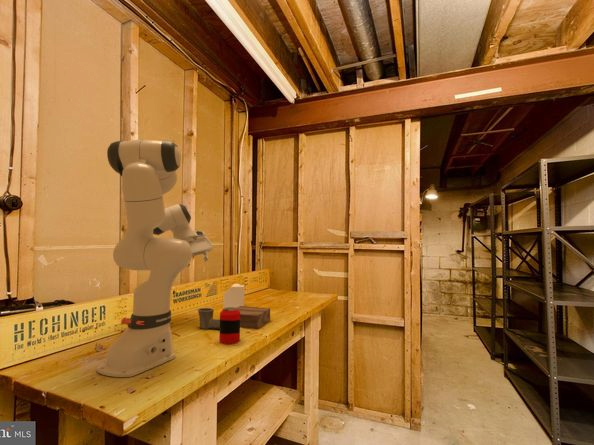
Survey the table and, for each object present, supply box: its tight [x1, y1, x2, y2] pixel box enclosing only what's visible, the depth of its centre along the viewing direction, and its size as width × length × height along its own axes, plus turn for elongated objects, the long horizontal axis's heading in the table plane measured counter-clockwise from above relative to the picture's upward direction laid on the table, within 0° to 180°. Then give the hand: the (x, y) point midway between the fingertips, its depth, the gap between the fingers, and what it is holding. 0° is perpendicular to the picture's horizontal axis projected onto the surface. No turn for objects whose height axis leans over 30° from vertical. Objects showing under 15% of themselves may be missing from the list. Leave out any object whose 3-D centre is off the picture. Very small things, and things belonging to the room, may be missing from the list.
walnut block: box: [236, 305, 271, 330], centre depth 133 cm, size 14×16×6 cm
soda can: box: [218, 307, 241, 345], centre depth 110 cm, size 8×8×12 cm
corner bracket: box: [222, 283, 245, 308], centre depth 165 cm, size 11×11×12 cm
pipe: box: [197, 307, 220, 330], centre depth 126 cm, size 6×13×8 cm, turn 73°
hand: (197, 263), depth 132 cm, fingers open, 8 cm apart
